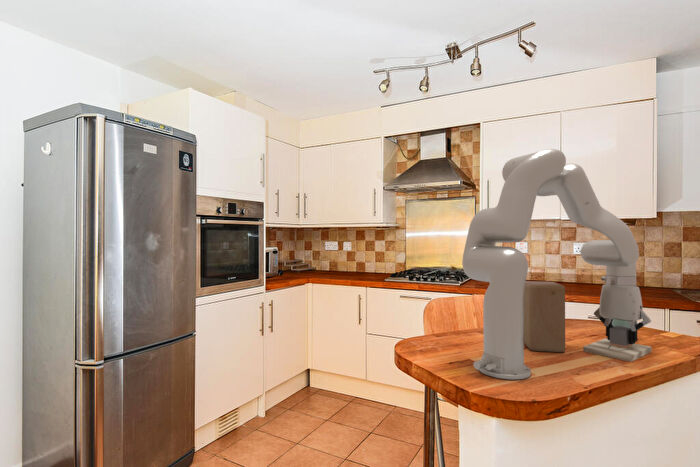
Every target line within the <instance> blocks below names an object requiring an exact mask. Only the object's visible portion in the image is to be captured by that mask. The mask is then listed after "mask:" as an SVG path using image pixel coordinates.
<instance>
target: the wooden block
mask: <svg viewBox="0 0 700 467" xmlns="http://www.w3.org/2000/svg"><path fill="white" fill-rule="evenodd" d="M524 346H526V347H527V348H528V349H529V350H530V351H532V352H533V351H534V352H546V353H547V352H551V353H564V352H565V351H566V287H565V285H562V284H561V283H557V282H554V281H529V280H526V281H525V287H524Z"/></svg>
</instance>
